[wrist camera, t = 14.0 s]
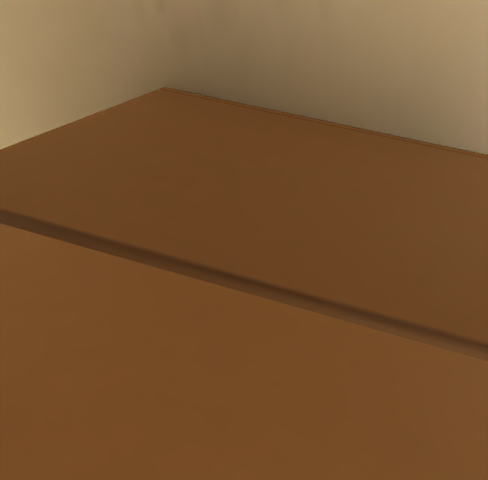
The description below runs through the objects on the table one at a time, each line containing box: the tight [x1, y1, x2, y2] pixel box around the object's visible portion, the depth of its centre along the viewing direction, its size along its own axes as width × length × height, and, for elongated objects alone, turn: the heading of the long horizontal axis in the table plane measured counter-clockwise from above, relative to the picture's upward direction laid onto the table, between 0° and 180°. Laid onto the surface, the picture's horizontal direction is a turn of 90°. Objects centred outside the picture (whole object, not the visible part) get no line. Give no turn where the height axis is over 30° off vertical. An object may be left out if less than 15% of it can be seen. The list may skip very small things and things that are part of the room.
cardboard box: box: [0, 87, 488, 361], centre depth 14 cm, size 14×12×12 cm
